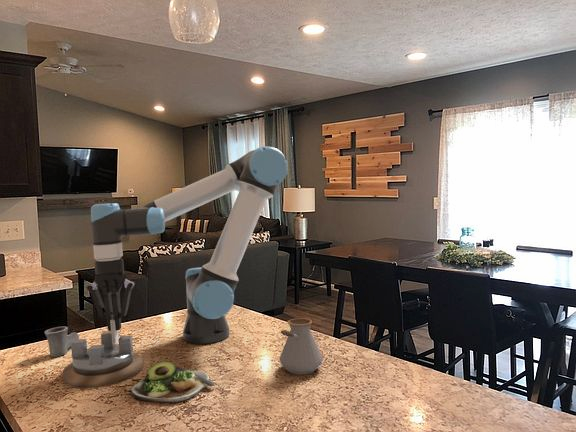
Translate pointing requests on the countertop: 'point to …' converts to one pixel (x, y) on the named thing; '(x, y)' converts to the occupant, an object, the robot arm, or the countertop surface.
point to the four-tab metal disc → (102, 355)
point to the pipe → (59, 340)
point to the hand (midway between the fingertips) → (115, 341)
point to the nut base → (102, 375)
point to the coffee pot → (300, 348)
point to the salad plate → (170, 383)
